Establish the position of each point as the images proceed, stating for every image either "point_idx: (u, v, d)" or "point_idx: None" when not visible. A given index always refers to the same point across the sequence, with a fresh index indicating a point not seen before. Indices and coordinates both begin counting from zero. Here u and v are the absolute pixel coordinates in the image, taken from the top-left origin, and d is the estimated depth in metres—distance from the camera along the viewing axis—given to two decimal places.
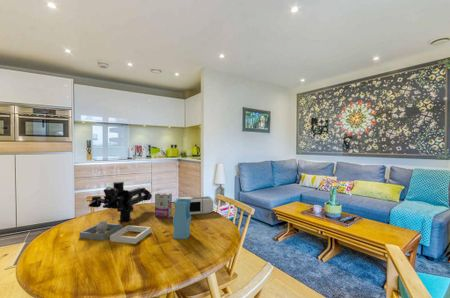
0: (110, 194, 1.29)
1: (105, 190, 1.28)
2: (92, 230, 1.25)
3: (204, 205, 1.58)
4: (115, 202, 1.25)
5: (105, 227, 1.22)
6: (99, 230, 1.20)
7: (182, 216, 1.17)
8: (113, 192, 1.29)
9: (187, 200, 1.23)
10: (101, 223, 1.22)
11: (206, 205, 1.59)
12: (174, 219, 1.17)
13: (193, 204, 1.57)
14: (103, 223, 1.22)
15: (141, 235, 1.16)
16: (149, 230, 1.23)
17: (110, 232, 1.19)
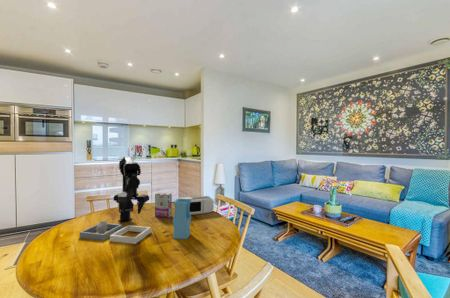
0: None
1: None
2: (92, 230, 1.25)
3: (204, 205, 1.59)
4: None
5: (105, 227, 1.22)
6: (99, 230, 1.20)
7: (182, 216, 1.17)
8: None
9: (187, 200, 1.23)
10: (101, 223, 1.22)
11: (207, 205, 1.60)
12: (174, 219, 1.17)
13: (193, 204, 1.57)
14: (103, 223, 1.22)
15: (141, 235, 1.16)
16: (149, 230, 1.23)
17: (110, 232, 1.19)
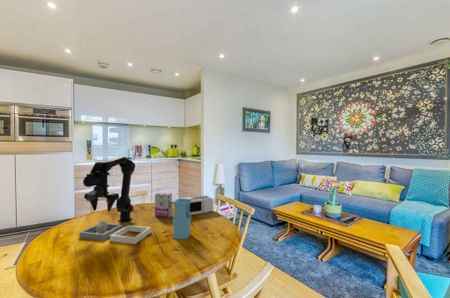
0: None
1: None
2: (92, 230, 1.25)
3: (205, 204, 1.60)
4: None
5: (105, 227, 1.22)
6: (99, 230, 1.20)
7: (182, 216, 1.17)
8: None
9: (187, 200, 1.23)
10: (101, 223, 1.22)
11: (207, 204, 1.61)
12: (174, 219, 1.17)
13: (194, 204, 1.57)
14: (103, 223, 1.22)
15: (141, 235, 1.16)
16: (149, 230, 1.23)
17: (110, 232, 1.19)
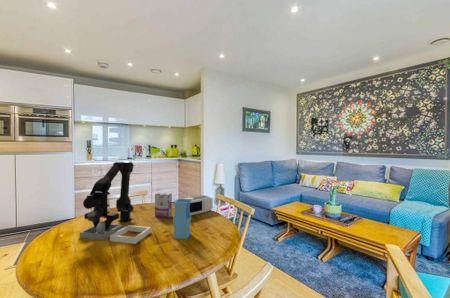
0: None
1: None
2: (92, 230, 1.25)
3: (205, 204, 1.62)
4: None
5: None
6: (99, 230, 1.20)
7: (182, 216, 1.17)
8: None
9: (187, 200, 1.23)
10: (101, 223, 1.22)
11: (207, 204, 1.63)
12: (174, 219, 1.17)
13: (195, 204, 1.57)
14: (103, 223, 1.22)
15: (141, 235, 1.16)
16: (149, 230, 1.23)
17: (110, 232, 1.19)
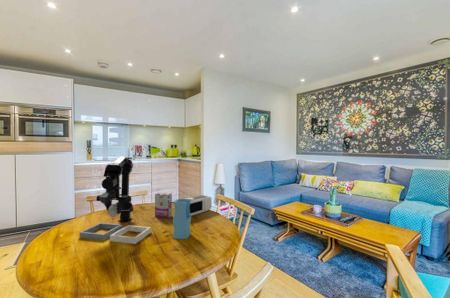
0: None
1: None
2: (92, 230, 1.25)
3: (205, 203, 1.63)
4: None
5: None
6: (111, 212, 1.18)
7: (182, 216, 1.17)
8: None
9: (187, 200, 1.23)
10: (113, 205, 1.20)
11: (207, 203, 1.64)
12: (174, 219, 1.17)
13: (196, 204, 1.57)
14: (115, 206, 1.20)
15: (141, 235, 1.16)
16: (149, 230, 1.23)
17: (110, 232, 1.19)
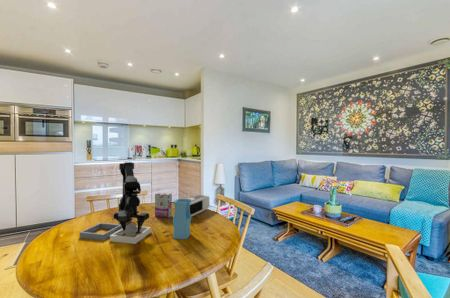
0: None
1: None
2: (92, 230, 1.25)
3: (204, 203, 1.65)
4: None
5: (134, 230, 1.18)
6: (129, 233, 1.17)
7: (182, 216, 1.17)
8: None
9: (187, 200, 1.23)
10: (130, 226, 1.18)
11: (206, 202, 1.66)
12: (174, 219, 1.17)
13: (198, 204, 1.58)
14: (132, 226, 1.19)
15: (141, 235, 1.16)
16: (149, 230, 1.23)
17: (110, 232, 1.19)
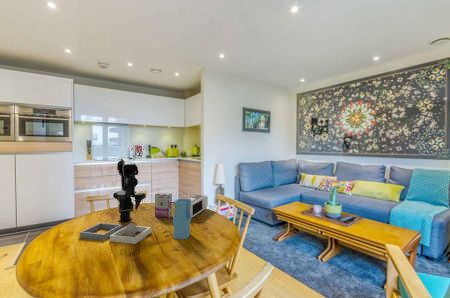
0: None
1: None
2: (92, 230, 1.25)
3: (204, 202, 1.66)
4: None
5: (134, 230, 1.18)
6: (129, 233, 1.17)
7: (182, 216, 1.17)
8: None
9: (187, 200, 1.23)
10: (130, 226, 1.18)
11: (205, 202, 1.68)
12: (174, 219, 1.17)
13: (198, 204, 1.58)
14: (132, 226, 1.19)
15: (141, 235, 1.16)
16: (149, 230, 1.23)
17: (110, 232, 1.19)
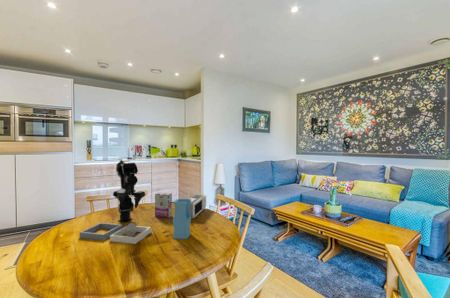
0: None
1: None
2: (92, 230, 1.25)
3: (203, 202, 1.67)
4: None
5: (134, 230, 1.18)
6: (129, 233, 1.17)
7: (182, 216, 1.17)
8: None
9: (187, 200, 1.23)
10: (130, 226, 1.18)
11: (204, 202, 1.68)
12: (174, 219, 1.17)
13: (199, 204, 1.59)
14: (132, 226, 1.19)
15: (141, 235, 1.16)
16: (149, 230, 1.23)
17: (110, 232, 1.19)
